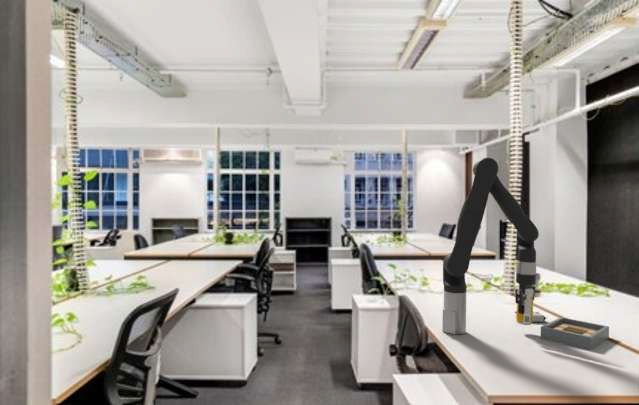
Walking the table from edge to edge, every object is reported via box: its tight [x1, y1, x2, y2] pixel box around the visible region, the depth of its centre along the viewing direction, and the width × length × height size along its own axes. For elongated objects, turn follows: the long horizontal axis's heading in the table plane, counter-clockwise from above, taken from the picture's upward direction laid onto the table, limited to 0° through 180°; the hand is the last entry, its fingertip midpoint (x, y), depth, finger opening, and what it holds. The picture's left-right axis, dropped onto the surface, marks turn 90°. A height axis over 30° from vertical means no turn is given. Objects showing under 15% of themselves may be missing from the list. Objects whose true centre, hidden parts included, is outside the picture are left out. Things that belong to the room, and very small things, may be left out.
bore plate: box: [552, 323, 598, 336], centre depth 178 cm, size 14×14×3 cm
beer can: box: [515, 287, 534, 326], centre depth 184 cm, size 6×6×15 cm
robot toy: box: [514, 310, 549, 323], centre depth 206 cm, size 12×4×15 cm
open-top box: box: [540, 317, 610, 351], centre depth 178 cm, size 22×18×6 cm
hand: (524, 312), depth 184 cm, fingers closed on beer can, 6 cm apart
